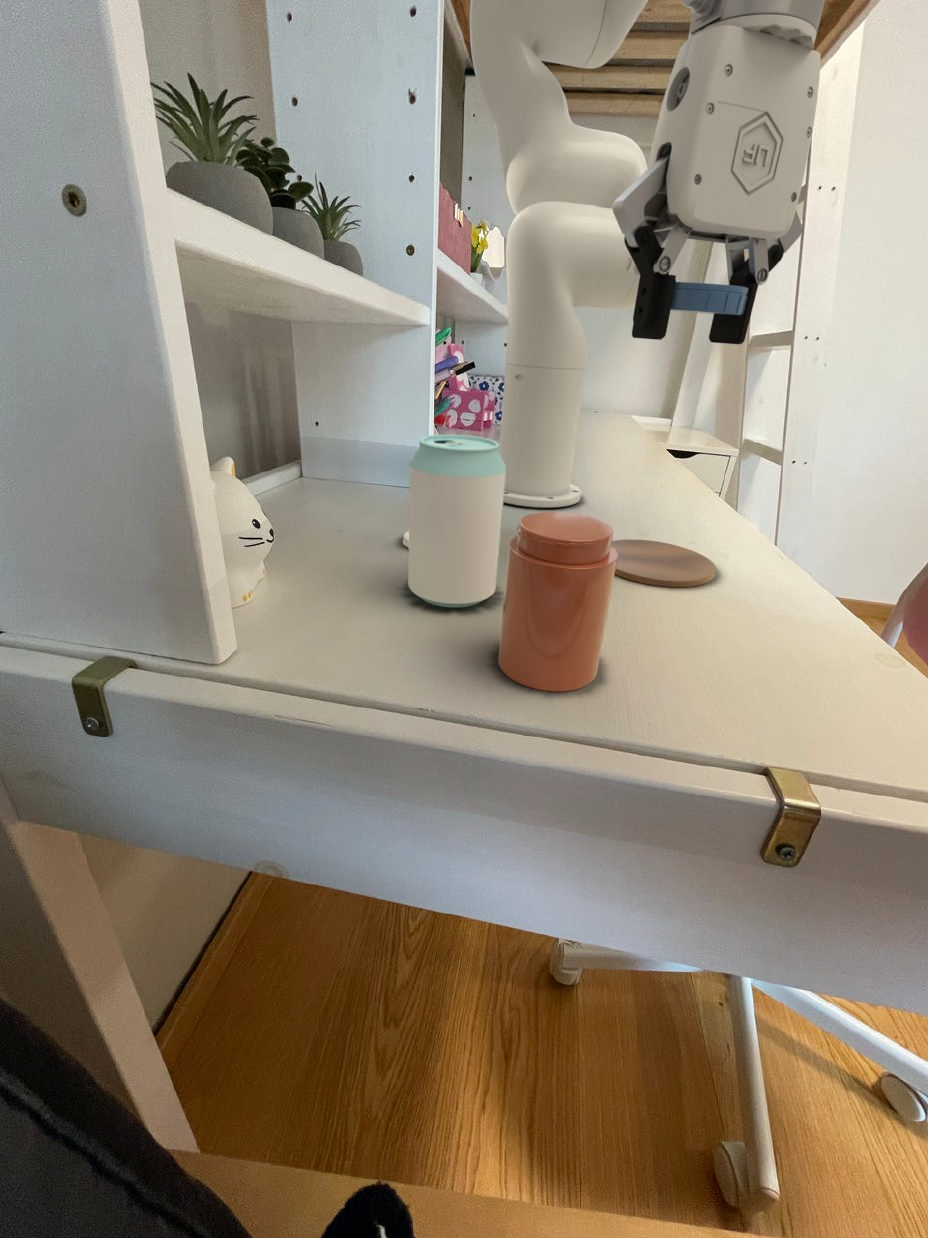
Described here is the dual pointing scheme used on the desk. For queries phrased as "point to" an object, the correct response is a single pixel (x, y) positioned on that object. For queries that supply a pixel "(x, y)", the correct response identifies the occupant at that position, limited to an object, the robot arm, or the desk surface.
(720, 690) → the desk surface
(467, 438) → the can
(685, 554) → the coaster
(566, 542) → the jar
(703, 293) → the lid
